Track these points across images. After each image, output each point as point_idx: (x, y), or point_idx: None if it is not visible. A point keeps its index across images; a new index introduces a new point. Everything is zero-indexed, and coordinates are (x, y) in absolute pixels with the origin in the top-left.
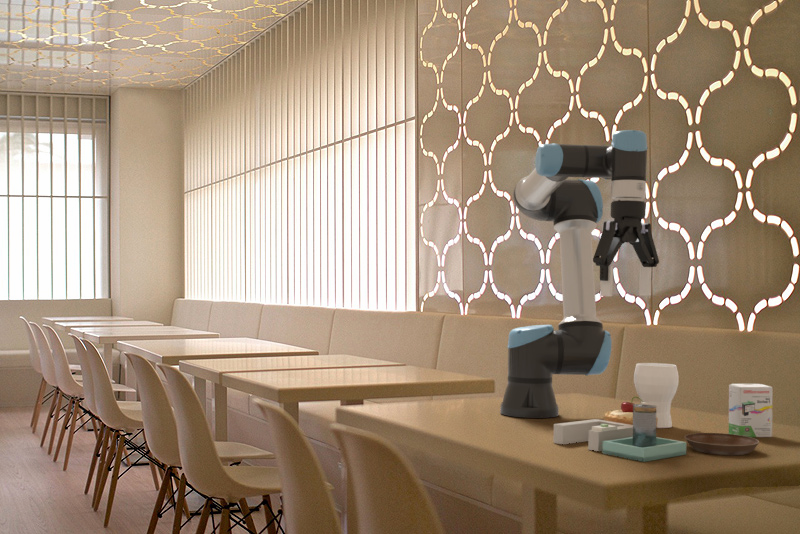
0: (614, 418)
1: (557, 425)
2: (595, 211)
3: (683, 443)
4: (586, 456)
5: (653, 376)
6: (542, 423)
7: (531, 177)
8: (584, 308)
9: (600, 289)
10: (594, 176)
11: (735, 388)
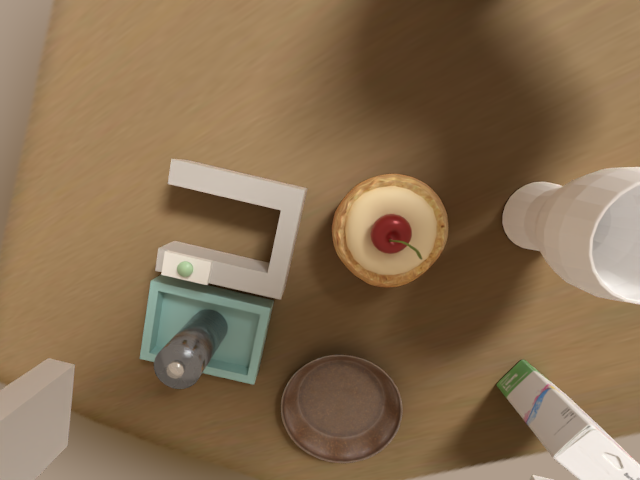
0: (334, 219)
1: (170, 169)
2: None
3: (245, 382)
4: (120, 265)
5: (559, 253)
6: (394, 4)
7: None
8: None
9: (1, 390)
10: None
11: (562, 439)
